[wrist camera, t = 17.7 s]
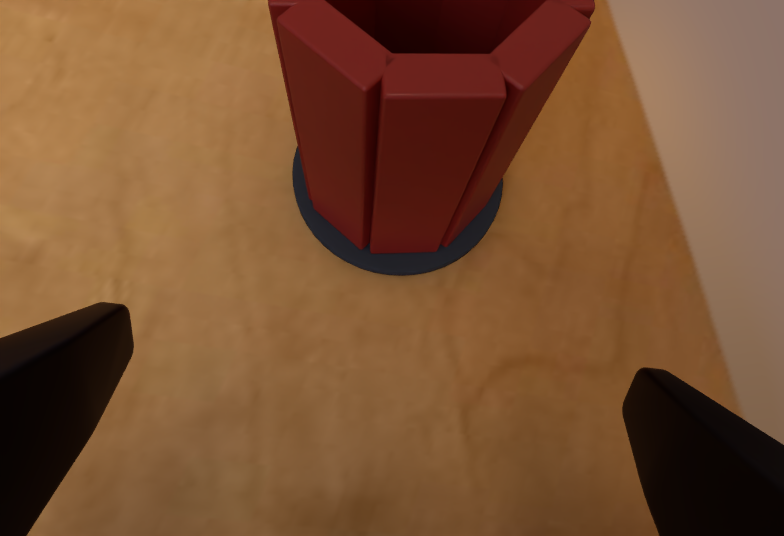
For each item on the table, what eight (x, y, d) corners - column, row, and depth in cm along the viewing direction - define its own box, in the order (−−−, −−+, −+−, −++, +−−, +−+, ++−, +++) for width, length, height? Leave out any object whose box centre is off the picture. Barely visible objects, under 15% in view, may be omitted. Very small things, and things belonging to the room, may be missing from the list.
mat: (425, 319, 17) (426, 316, 16) (249, 194, 18) (247, 189, 17) (537, 160, 19) (540, 154, 19) (375, 57, 20) (375, 49, 20)
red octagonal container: (309, 256, 17) (264, 97, 9) (308, 95, 19) (271, -158, 11) (495, 251, 17) (617, 96, 9) (476, 94, 19) (563, -148, 11)
